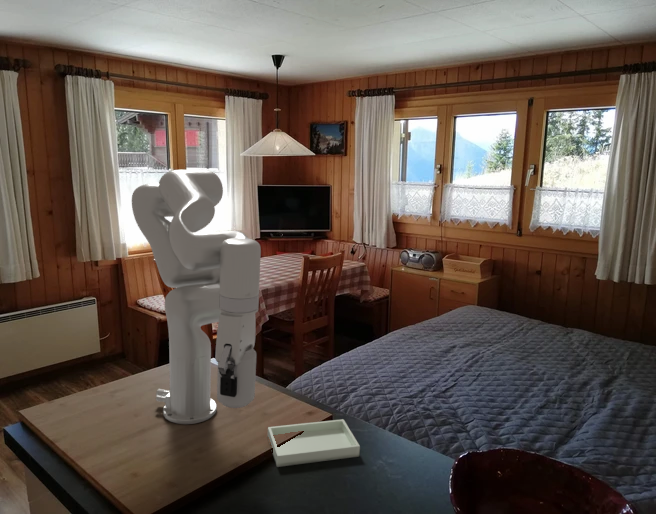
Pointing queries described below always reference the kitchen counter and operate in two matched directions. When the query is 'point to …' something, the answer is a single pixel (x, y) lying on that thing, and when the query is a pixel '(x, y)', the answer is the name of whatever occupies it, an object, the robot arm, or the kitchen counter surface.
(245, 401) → the can
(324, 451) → the tray
